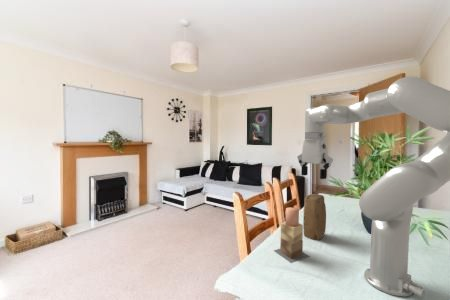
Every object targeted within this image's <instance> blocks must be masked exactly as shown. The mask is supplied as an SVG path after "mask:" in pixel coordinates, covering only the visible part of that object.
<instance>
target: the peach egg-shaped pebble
mask: <svg viewBox="0 0 450 300" xmlns="http://www.w3.org/2000/svg"><path fill="white" fill-rule="evenodd" d="M299 212H300V209H299V208H297V207H286V208H285V222H286V225H288V226H292V227H296V226H298V225H299V224H300V217H299V216H300V213H299Z"/></svg>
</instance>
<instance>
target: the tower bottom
mask: <svg viewBox="0 0 450 300" xmlns="http://www.w3.org/2000/svg"><path fill="white" fill-rule="evenodd" d="M303 243H304V240H303V239H302V240H300V241H298V242H296V243H294V244H293V243H290V242H288V241H286V240H284V239H282V238H281V237H280V247H279V249H280V252H282V253H283V254H285V255H286V256H288V257H289V258H291V259H293V258H295V257H298V256H301V255H302V253H303V252H304V251H303V246H304V244H303Z"/></svg>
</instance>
